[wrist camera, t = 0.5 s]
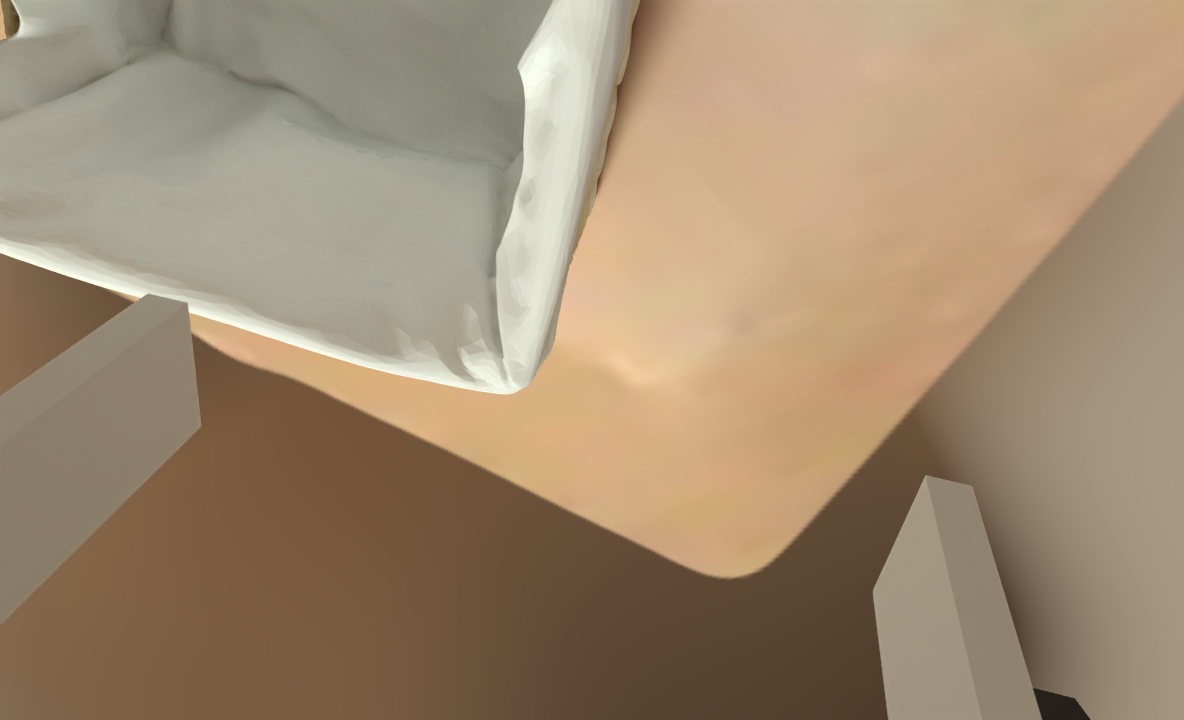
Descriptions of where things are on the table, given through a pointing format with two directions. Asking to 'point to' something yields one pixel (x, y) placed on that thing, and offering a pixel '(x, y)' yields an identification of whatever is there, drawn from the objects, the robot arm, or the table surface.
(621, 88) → the table surface
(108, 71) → the storage basket
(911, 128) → the table surface
